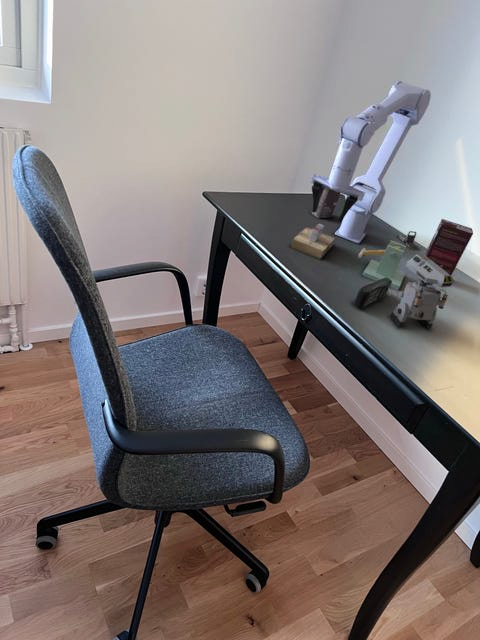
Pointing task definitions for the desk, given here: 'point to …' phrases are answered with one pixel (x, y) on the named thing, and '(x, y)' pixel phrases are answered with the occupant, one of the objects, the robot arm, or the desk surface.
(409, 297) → the figurine
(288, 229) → the desk surface
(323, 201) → the box
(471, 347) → the desk surface
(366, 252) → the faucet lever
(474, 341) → the desk surface
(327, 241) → the panel
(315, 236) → the grey rectangular block
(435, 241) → the supplement box
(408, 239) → the strap clip
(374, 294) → the dark grey piece
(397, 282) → the green lever mechanism
